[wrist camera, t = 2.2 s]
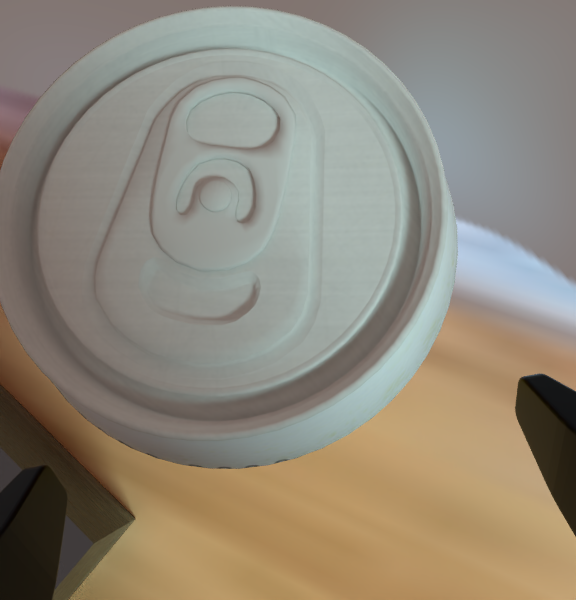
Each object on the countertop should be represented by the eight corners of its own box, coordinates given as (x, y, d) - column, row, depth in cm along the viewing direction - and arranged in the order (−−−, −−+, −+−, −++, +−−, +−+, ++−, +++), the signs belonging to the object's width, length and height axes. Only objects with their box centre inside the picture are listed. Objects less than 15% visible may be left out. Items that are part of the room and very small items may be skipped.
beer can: (205, 411, 20) (-119, 424, 5) (234, 270, 21) (37, -41, 6) (353, 438, 19) (456, 538, 5) (374, 291, 20) (507, 0, 6)
